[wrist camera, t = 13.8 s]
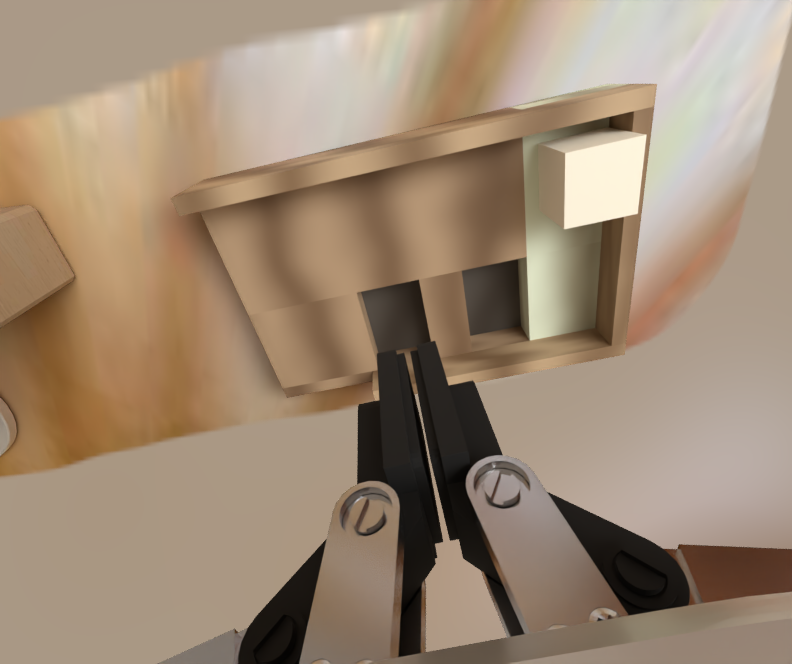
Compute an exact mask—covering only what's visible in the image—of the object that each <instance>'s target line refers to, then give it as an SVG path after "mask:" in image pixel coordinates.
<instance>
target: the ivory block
mask: <svg viewBox="0 0 792 664" xmlns="http://www.w3.org/2000/svg"><path fill="white" fill-rule="evenodd" d="M646 136H647V135H646V134H640V133H635V132H630V131H624V130H619V129H614V128H608V127H606V128H602V129H597V130H593V131H589V132H584V133H580V134H576V135H571V136H567V137H563V138H558V139H554V140H550V141H545V142H541V143H538V171H539V210H540V211H541V212H542V213H543V214H545V215H546V216H547V217H549V218H550V219H551V220H553V221H554V222H555V223H556V224H558V225H559V226H560V227H562V228H563V229H569V228H573V227H578V226H583V225H587V224H592V223H597V222H601V221H606V220H611V219H615V218H620V217H625V216H630V215H634V214H638V206H639V197H640V188H641V180H642V171H643V162H644V153H645V144H646Z"/></svg>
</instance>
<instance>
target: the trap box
mask: <svg viewBox="0 0 792 664" xmlns="http://www.w3.org/2000/svg"><path fill="white" fill-rule="evenodd" d="M656 87H657V84H605V85H601V86H597V87H593V88H589V89H584V90H580V91H576V92H572V93H568V94H563V95H559V96H555V97H551V98H547V99H542V100H538V101H534V102H530V103H525V104H521V105H517V106H513V107H509V108H504V109H500V110H496V111H492V112H488V113H483V114H479V115H475V116H471V117H467V118H462V119H458V120H454V121H450V122H445V123H441V124H437V125H433V126H429V127H424V128H420V129H416V130H412V131H408V132H403V133H399V134H395V135H391V136H387V137H382V138H378V139H374V140H370V141H365V142H361V143H357V144H353V145H349V146H344V147H340V148H336V149H332V150H328V151H323V152H319V153H315V154H311V155H307V156H302V157H298V158H294V159H290V160H286V161H281V162H277V163H273V164H269V165H264V166H260V167H256V168H252V169H248V170H243V171H239V172H235V173H231V174H227V175H222V176H218V177H214V178H210V179H206V180H203V181H201V182H199V183H197V184H196V185H194V186H192V187H190V188H188V189H187V190H185V191H183V192H181V193H179V194H178V195H176V196H174V197H172V198H171V200H172V202H173V204H174V206H175V208H176V210H177V212H178V214H179V216H183V215H187V214H192V213H196V212H200V213H201V216H202V218H203V220H204V222H205V224H206V226H207V228H208V230H209V233H210V235H211V237H212V239H213V241H214V243H215V245H216V247H217V250H218V252H219V254H220V256H221V258H222V260H223V262H224V264H225V267H226V269H227V271H228V273H229V275H230V277H231V279H232V282H233V284H234V286H235V288H236V290H237V292H238V294H239V296H240V299H241V301H242V303H243V305H244V307H245V309H246V311H247V313H248V316H249V318H250V320H251V322H252V324H253V326H254V328H255V330H256V333H257V335H258V337H259V339H260V341H261V343H262V345H263V347H264V350H265V352H266V354H267V356H268V358H269V360H270V362H271V365H272V367H273V369H274V371H275V373H276V375H277V377H278V379H279V382H280V384H281V386H282V388H283V390H284V392H285V394H286V396H287V398H288V397H293V396H298V395H304V394H309V393H314V392H319V391H324V390H330V389H335V388H340V387H345V386H350V385H356V384H361V383H366V382H371V381H373V395H374V398H375V401H378V400H379V386H378V369H377V353H381V352H385V351H390V350H395V349H396V352H397V354H400V353H404V354H405V358H406V362H407V366H408V370H409V375H410V379H411V383H412V387H413V391H414V394H418V391H417V386H416V380H415V375H414V370H413V364H412V359H411V354H410V351H414V350H417V345H418V344H422V343H427V342H431V341H435V342H436V345H437V348H438V351H439V355H440V358H441V361H442V365H443V368H444V371H445V375H446V378H447V382H448V385H453V384H458V383H463V382H468V381H472V380H473V381H474V383H476V382H482V381H487V380H492V379H497V378H503V377H508V376H513V375H519V374H524V373H529V372H535V371H540V370H545V369H551V368H556V367H561V366H566V365H572V364H577V363H582V362H588V361H593V360H598V359H604V358H609V357H614V356H620V355H624V354H625V347H626V339H627V330H628V322H629V313H630V305H631V297H632V288H633V280H634V272H635V263H636V255H637V246H638V238H639V230H640V221H641V213H642V204H643V196H644V188H645V179H646V171H647V163H648V154H649V146H650V137H651V129H652V121H653V112H654V104H655V96H656ZM606 127H608V128H614V129H619V130H624V131H630V132H635V133H640V134H646V135H647V136H646V144H645V153H644V162H643V171H642V180H641V188H640V197H639V206H638V214H634V215H630V216H625V217H620V218H615V219H611V220H606V221H601V222H597V223H592V224H587V225H583V226H578V227H573V228H569V229H563V228H562V227H560V226H559V225H558V224H556V223H555V222H554V221H553V220H551V219H550V218H549V217H547V216H546V215H545V214H543V213H542V212H541V211H540V210H539V171H538V143H541V142H545V141H550V140H554V139H558V138H563V137H567V136H571V135H576V134H580V133H584V132H589V131H593V130H597V129H602V128H606Z"/></svg>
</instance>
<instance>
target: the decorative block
mask: <svg viewBox="0 0 792 664" xmlns="http://www.w3.org/2000/svg"><path fill="white" fill-rule="evenodd" d="M74 276H75V275H74V274H73V272H72V270H71V269H70V267H69V265H68V263H67V262H66V260H65V258H64V256H63V255H62V253H61V251H60V250H59V248H58V246H57V244H56V243H55V241H54V239H53V237H52V236H51V234H50V232H49V231H48V229H47V227H46V225H45V224H44V222H43V220H42V218H41V217H40V215H39V213H38V211H37V210H36V209H34V208H33V207H31V206H29V205H22V206H14V207H6V208H0V328H1V327H3V326H4V325H6V324H7V323H9V322H10V321H12V320H14V319H15V318H17V317H18V316H20V315H21V314H23V313H24V312H26V311H27V310H29V309H30V308H32V307H33V306H35V305H37V304H38V303H40V302H41V301H43V300H44V299H46V298H47V297H49V296H50V295H52V294H53V293H55V292H56V291H58V290H60V289H61V288H63V287H64V286H66V285H67V284H69V283H70V282H72V281H73V279H74Z"/></svg>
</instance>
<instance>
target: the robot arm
mask: <svg viewBox="0 0 792 664" xmlns="http://www.w3.org/2000/svg"><path fill="white" fill-rule="evenodd" d="M410 354H411V359H412V364H413V370H414V375H415V380H416V386H417V391H418V396H419V401H420V407H421V412H422V417H423V423H424V428H425V433H426V438H427V444H428V448H429V454H430V459H431V463H432V468H433V472H434V476H435V480H436V484H437V488H438V492H439V497H440V500H441V505H442V509H443V513H444V518H445V522H446V526H447V530H448V534H449V538H450V540H456V539H459V541H460V546H461V550H462V554H463V558H464V559H465V560H466V561H468V562H469V563H471V564H472V565H474V566H475V567H477V568H478V569H480V570H481V572H482V576H483V579H484V581H485V584H486V586H487V589H488V591H489V594H490V596H491V598H492V601H493V603H494V606H495V608H496V611H497V613H498V616H499V618H500V621H501V623H502V626H503V628H504V631H505V633H506V636H507V638H502V639H497V640H491V641H485V642H480V643H474V644H469V645H464V646H458V647H452V648H447V649H442V650H436V651H431V652H426V583H425V579H426V577H427V576H428V574H429V573H430V571H431V570H432V568H433V567H434V565H435V564H436V563H435V558H437V555H436V548H435V543H440V542H443V539H442V533H441V528H440V522H439V516H438V511H437V506H436V500H435V495H434V489H433V484H432V478H431V473H430V467H429V462H428V456H427V451H426V445H425V440H424V435H423V429H422V425H421V420H420V416H419V412H418V408H417V404H416V399H415V395H414V391H413V387H412V383H411V379H410V375H409V370H408V366H407V362H406V358H405V354H404V353H400V354H397V352H396V349H395V350H390V351H385V352H381V353H377V369H378V386H379V400H378V401H373V402H368V403H364V404H359V406H358V470H357V471H358V473H357V474H358V475H357V479H358V480H357V485H355V486H353V487H351V488H350V489H348V490H347V491H346V492H345V493H344V494H343V495H342V496H341V497H340V499H339V500H338V501H337V503H336V505H335V508H334V510H333V513H332V518H331V522H330V527H329V531H328V536H327V539H326V540H325V541H324V542H323V544H322V545H321V546H320V547H319V548H318V549H317V550H316V551H315V553H314V554H313V555H312V556H311V557H310V558H309V559H308V560H307V561H306V562H305V563H304V564H303V565H302V567H301V568H300V569H299V570H298V571H297V572H296V573H295V574H294V575H293V576H292V578H291V579H290V580H289V581H288V582H287V583H286V584H285V585H284V586H283V587H282V589H281V590H280V591H279V592H278V593H277V594H276V595H275V596H274V597H273V598H272V600H271V601H270V602H269V603H268V604H267V605H266V606H265V607H264V608H263V610H262V611H261V612H260V613H259V614H258V615H257V616H256V618H255V619H254V620H253V622H252V623H251V624H250V626H249V627H248V628H247V629H245V630H242V631H240V632H237V631H236V629H233V630H231V631H228V632H226V633H224V634H222V635H220V636H218V637H215V638H213V639H211V640H209V641H206V642H205V643H202V644H200V645H198V646H195V647H193V648H191V649H189V650H187V651H184V652H182V653H180V654H178V655H176V656H173V657H171V658H169V659H167V660H165V661H163V662H160V663H158V664H792V549H777V548H753V547H730V546H706V545H682V544H679V545H678V549H662V548H661V547H659V546H658V545H656V544H655V543H653V542H651V541H649V540H647V539H645V538H643V537H641V536H639V535H636V534H635V533H632V532H631V531H628V530H626V529H624V528H622V527H620V526H618V525H616V524H614V523H612V522H609V521H607V520H605V519H603V518H601V517H599V516H597V515H595V514H593V513H590V512H588V511H586V510H584V509H582V508H580V507H578V506H576V505H574V504H571V503H569V502H567V501H565V500H563V499H561V498H559V497H557V496H555V495H553V494H550V493H548V492H547V491H546V490H545V488H544V487H543V485H542V484H541V482H540V481H539V479H538V478H537V476H536V475H535V473H534V472H533V471H532V470H531V468H530V467H529V466H528V465H527V464H525V463H524V462H522V461H520V460H519V459H516V458H513V457H510V456H503V455H502V452H501V450H500V447H499V445H498V442H497V439H496V437H495V434H494V432H493V429H492V427H491V424H490V421H489V419H488V416H487V414H486V411H485V409H484V406H483V403H482V401H481V398H480V396H479V393H478V391H477V388H476V385H475V383H474V381H473V380H472V381H468V382H463V383H458V384H453V385H448V382H447V378H446V375H445V371H444V368H443V365H442V361H441V358H440V355H439V351H438V348H437V345H436V342H435V341H431V342H427V343H422V344H418V345H417V350H414V351H410ZM16 434H17V428H16V422H15V419H14V417H13V414H12V412H11V411H10V409H9V408H8V406H7V404H6V403H5V402H4V401H3V400H2V399H1V398H0V456H1V455H2V454H3V453H4V452H5V451H6V450H7V449H9V448H10V446H11V445H12V444H13V442H14V441H15V438H16Z"/></svg>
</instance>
